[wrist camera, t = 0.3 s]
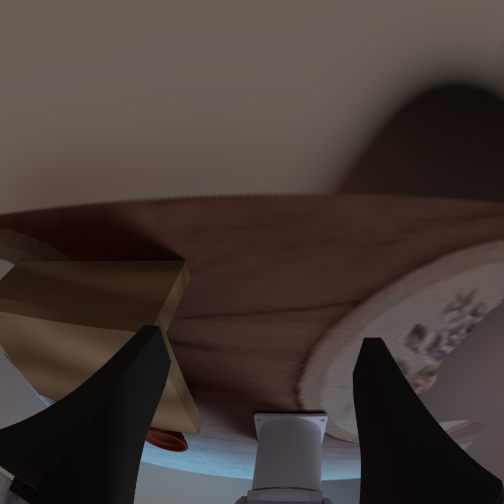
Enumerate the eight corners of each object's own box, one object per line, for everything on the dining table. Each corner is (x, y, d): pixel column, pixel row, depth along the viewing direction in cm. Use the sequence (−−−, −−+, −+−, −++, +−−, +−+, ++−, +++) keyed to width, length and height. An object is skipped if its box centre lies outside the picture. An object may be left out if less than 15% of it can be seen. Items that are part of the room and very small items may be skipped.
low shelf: (214, 369, 27) (198, 434, 21) (66, 348, 30) (39, 394, 24) (186, 260, 21) (149, 333, 15) (19, 261, 24) (-24, 305, 18)
